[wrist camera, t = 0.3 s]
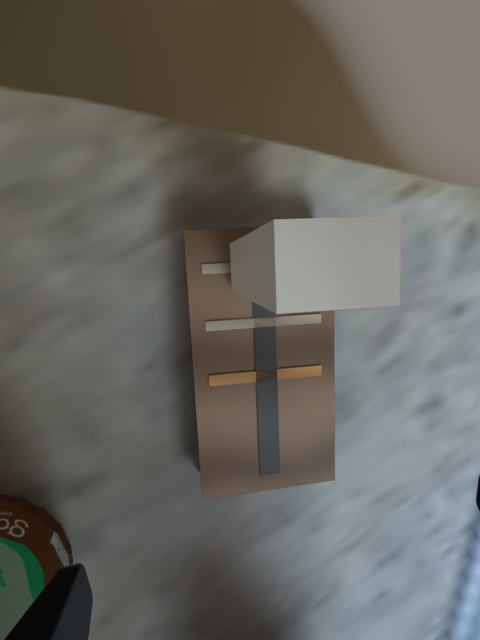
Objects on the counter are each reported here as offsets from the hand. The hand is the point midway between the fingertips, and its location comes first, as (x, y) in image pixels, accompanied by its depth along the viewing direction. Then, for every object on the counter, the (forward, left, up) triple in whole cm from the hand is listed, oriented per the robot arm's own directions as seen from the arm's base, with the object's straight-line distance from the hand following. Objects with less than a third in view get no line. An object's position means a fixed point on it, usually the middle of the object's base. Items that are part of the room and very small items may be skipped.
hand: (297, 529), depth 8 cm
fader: (+5, -2, -11) cm, 13 cm away
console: (0, -2, -14) cm, 14 cm away
